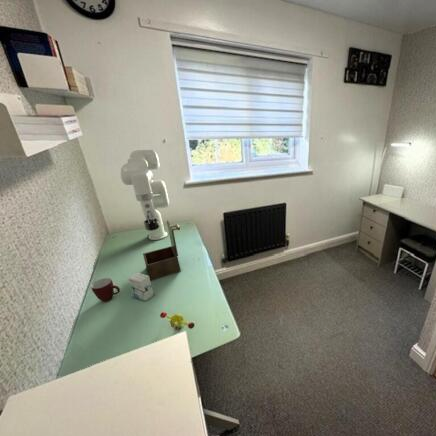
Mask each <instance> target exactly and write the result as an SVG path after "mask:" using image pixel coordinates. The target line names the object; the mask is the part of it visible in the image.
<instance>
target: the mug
mask: <svg viewBox="0 0 436 436" xmlns="http://www.w3.org/2000/svg"><path fill="white" fill-rule="evenodd" d="M90 288H91V290H92V293H93V294H94V296H95V297H96V298H97V299H98V300H99V301H101V302H103V303H107V302H110V301H111V300H112V299H113V297H114V296H115V295H118V294H119V293H120V292H121V289H120V287H119V286H118V285H114V282H113V280H112V279H111V278H110V277H104V278H103V277H102V278H100V279H98V280H96V281H94V282H93V283H92V284H91V286H90ZM115 290H116V292H115Z"/></svg>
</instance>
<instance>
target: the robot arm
mask: <svg viewBox="0 0 436 436" xmlns="http://www.w3.org/2000/svg"><path fill="white" fill-rule="evenodd" d="M160 166H161V165H160V160H159V155H158V154H157V152H156V151H155V150H153V149H137V150H133V151H132V152H131V153H130V155H129V158H128V159H127V162H126V163H125V164H123V165H122V166H121V168H120V179H121V181H122V184H124V185H126V186H133V187H132V188H133V191H134V196H135V198H136V201H137V202H140V206H141V210H142V212H143V215H144V218H145V219H146V220H148V225H149V229H150V230H152V231H149V235H148V239H149V240H151V241H159V240H162V239H164V238H166V237H168V235H169V233H168V232H167V231H165V227H164V222H163V218H162V214H161V212H160V211H159V209H166V208H169V206H170V199H169V194H168V189H167V186H166V183H165V181H163V180H162V179H157V180H156V179H155V180H154V174H153V172H152V171H153V170H154V171H155V170H158V169H159V168H160ZM149 219H150V220H149ZM154 219H157V220H158V223H159V227H158V229H156V225H155V222H154ZM155 229H156V230H155Z"/></svg>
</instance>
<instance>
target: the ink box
mask: <svg viewBox="0 0 436 436" xmlns="http://www.w3.org/2000/svg"><path fill="white" fill-rule="evenodd" d="M128 281H129V285H130V288H131V292H132V295H133V297H134V298H135V299H139V300H143V301H148V300H150V299H151V298H152V297H153V296H154V291H153V287H152V282H151V281H150V278H149V275H148V274H143V273H140V272H135V273H134V274H132V275H130V276H129V277H128Z"/></svg>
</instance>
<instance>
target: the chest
mask: <svg viewBox="0 0 436 436" xmlns="http://www.w3.org/2000/svg"><path fill="white" fill-rule="evenodd" d="M142 256H143V260H144V264H145V268H146V271H147V276H149V278H150V282H151V281H154V280H157V279H160V278H164V277H166V276H170V275H172V274H176V273H179V272H181V266H180V262H179V256H176V254H175V252H174V250H173V247H172V245H170V246H165V247H163V248H159V249H155V250H152V251H148V252H144V253H142Z"/></svg>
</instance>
